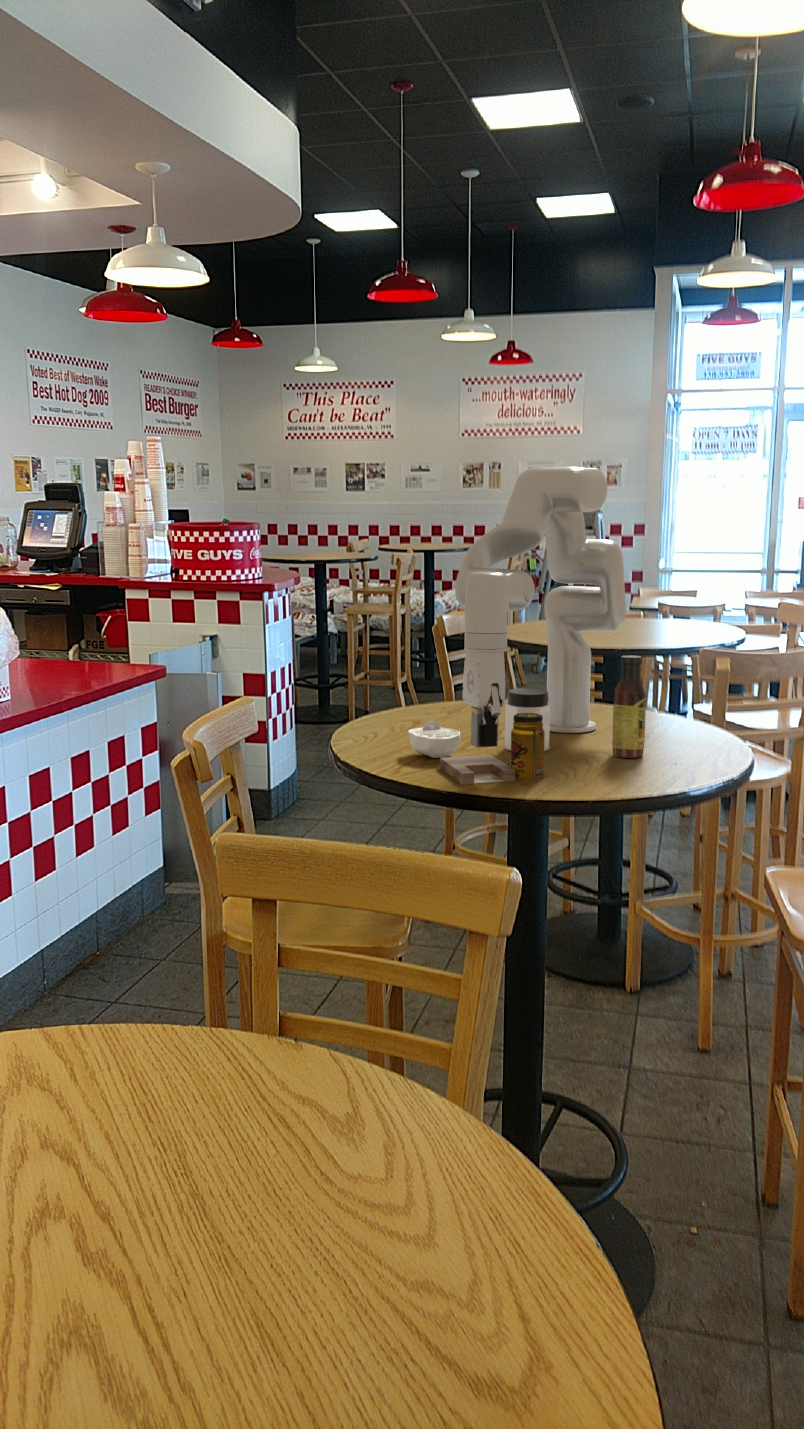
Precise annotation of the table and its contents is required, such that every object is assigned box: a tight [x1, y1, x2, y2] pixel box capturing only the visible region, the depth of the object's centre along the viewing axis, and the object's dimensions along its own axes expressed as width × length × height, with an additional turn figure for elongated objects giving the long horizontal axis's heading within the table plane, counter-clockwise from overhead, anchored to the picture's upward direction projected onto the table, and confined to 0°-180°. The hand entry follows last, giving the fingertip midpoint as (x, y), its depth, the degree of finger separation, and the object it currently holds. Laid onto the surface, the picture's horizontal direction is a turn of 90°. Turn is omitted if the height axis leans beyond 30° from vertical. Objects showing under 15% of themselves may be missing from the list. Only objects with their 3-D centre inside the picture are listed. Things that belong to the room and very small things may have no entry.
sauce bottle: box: [611, 654, 647, 759], centre depth 210 cm, size 7×6×20 cm
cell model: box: [407, 720, 462, 759], centre depth 211 cm, size 10×12×7 cm
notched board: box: [439, 754, 516, 786], centre depth 196 cm, size 13×10×2 cm
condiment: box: [510, 713, 545, 782], centre depth 194 cm, size 7×8×12 cm
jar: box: [504, 687, 550, 752], centre depth 216 cm, size 9×8×12 cm
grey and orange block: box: [470, 705, 499, 748], centre depth 191 cm, size 3×4×7 cm
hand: (484, 743), depth 191 cm, fingers closed on grey and orange block, 3 cm apart
